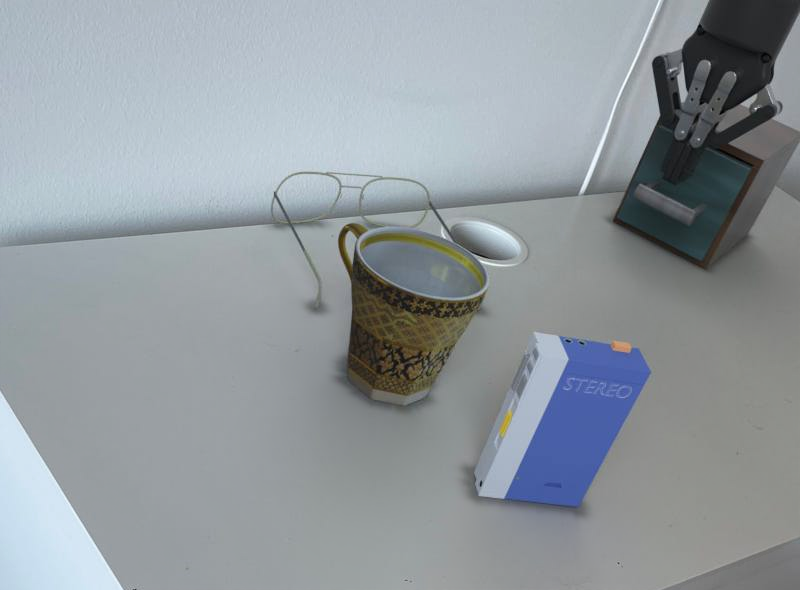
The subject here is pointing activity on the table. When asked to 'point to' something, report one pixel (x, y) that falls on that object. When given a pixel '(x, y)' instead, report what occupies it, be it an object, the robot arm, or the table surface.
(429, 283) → the ceramic cup
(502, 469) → the walkman
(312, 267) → the eyeglasses
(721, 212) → the drawer
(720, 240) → the cabinet
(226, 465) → the table surface
